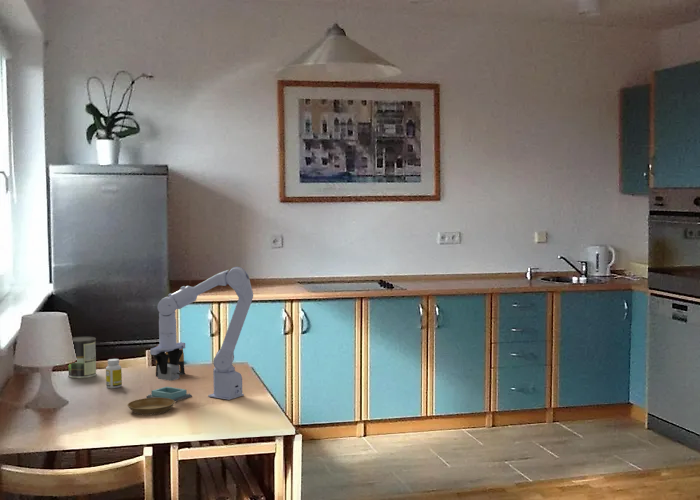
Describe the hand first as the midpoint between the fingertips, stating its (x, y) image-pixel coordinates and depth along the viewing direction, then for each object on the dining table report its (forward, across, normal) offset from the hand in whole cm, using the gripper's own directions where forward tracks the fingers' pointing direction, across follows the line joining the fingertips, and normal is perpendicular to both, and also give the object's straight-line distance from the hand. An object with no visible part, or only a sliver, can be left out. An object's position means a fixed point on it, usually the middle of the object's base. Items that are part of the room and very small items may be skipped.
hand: (168, 372), depth 289 cm
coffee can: (+9, -8, -53) cm, 54 cm away
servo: (+2, 0, +1) cm, 2 cm away
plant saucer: (+9, +16, +8) cm, 19 cm away
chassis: (+8, 0, 0) cm, 8 cm away
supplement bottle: (+9, -1, -28) cm, 29 cm away
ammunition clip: (+9, -26, -25) cm, 37 cm away
